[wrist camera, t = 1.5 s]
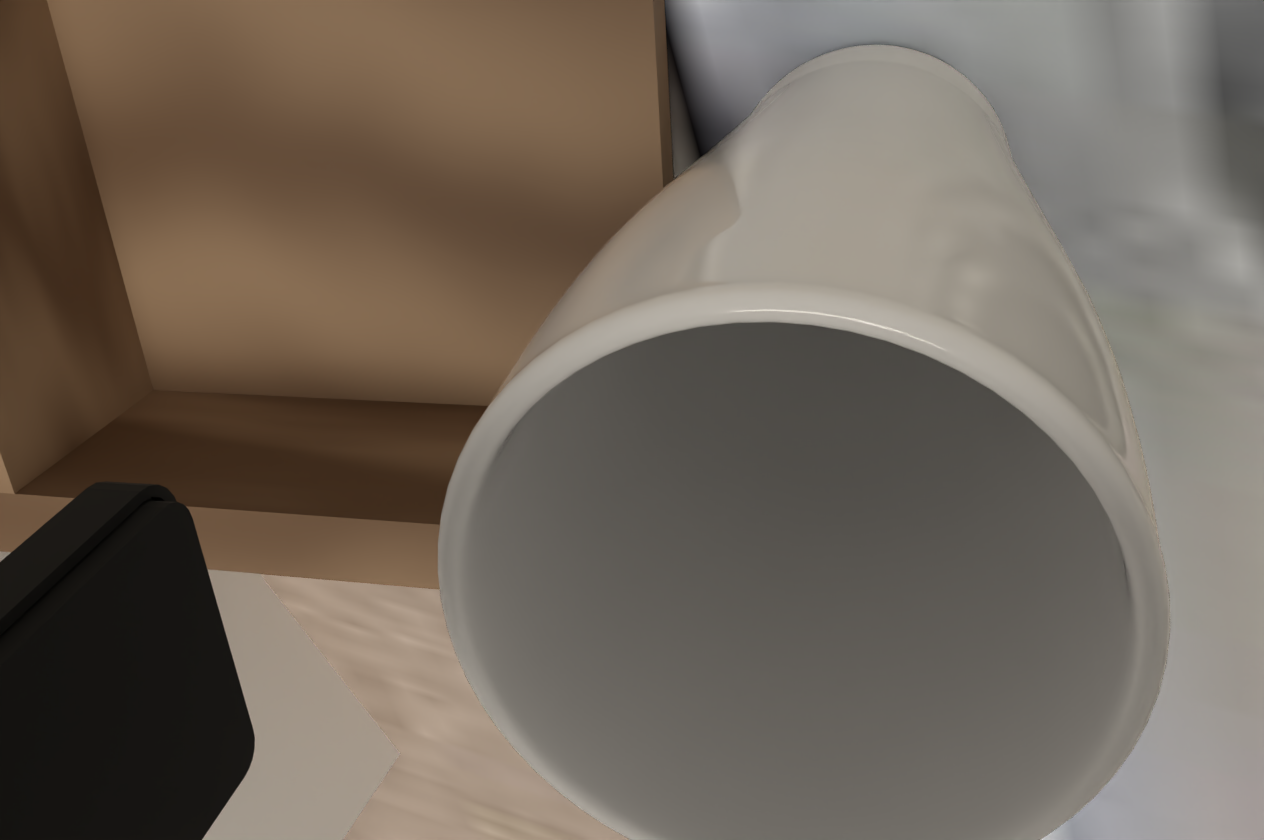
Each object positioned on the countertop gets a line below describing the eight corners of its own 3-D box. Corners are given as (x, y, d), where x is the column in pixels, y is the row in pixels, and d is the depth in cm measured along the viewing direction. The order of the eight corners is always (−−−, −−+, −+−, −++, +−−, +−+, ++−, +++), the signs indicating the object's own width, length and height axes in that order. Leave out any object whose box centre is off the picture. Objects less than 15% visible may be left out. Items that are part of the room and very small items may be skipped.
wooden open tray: (689, 490, 28) (629, 648, 23) (99, 453, 32) (-67, 582, 26) (652, -237, 21) (556, -247, 16) (-92, -174, 25) (-364, -166, 20)
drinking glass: (708, 328, 26) (468, 857, 13) (696, 3, 23) (369, 273, 10) (1033, 339, 24) (1130, 953, 11) (1067, -9, 21) (1252, 293, 8)
